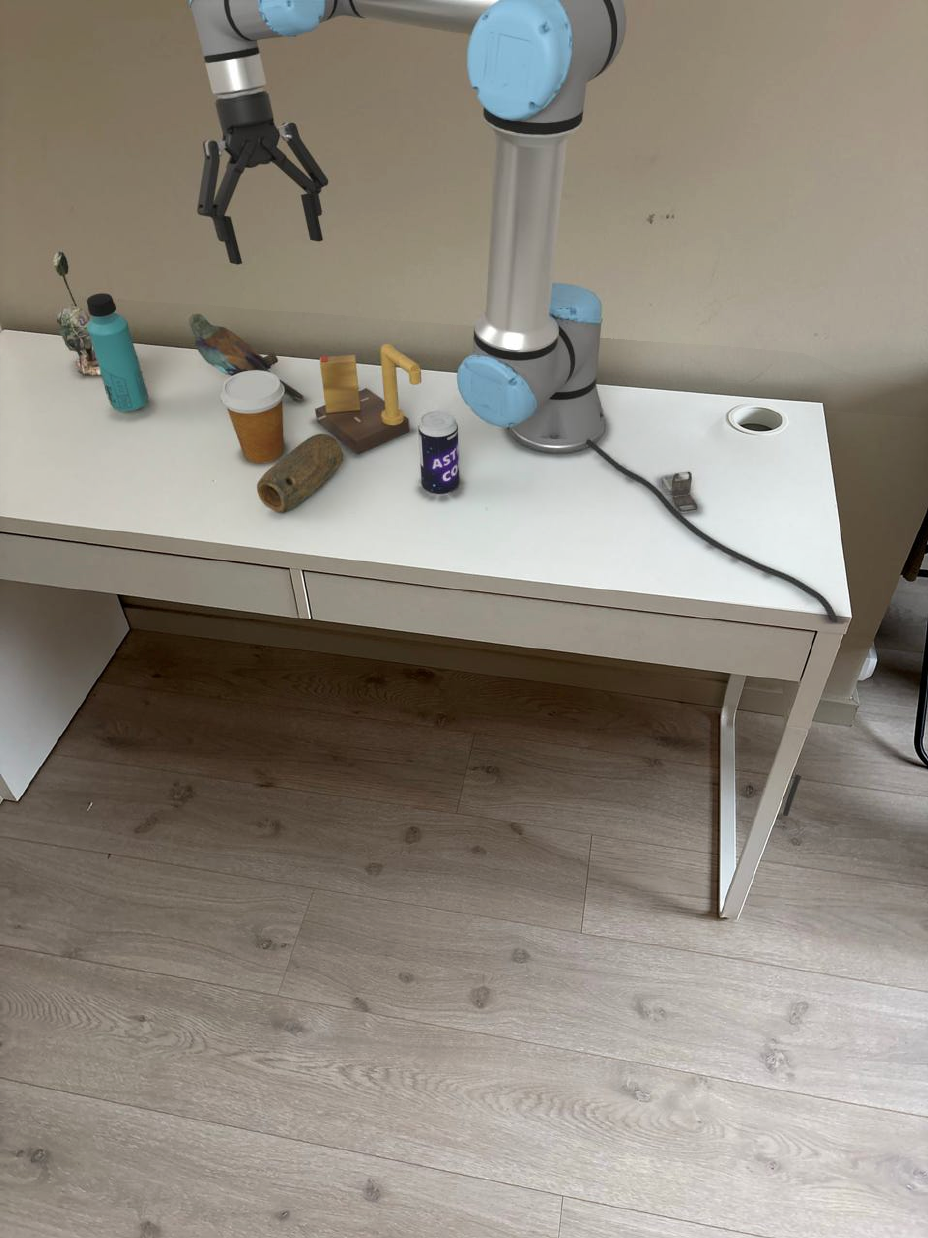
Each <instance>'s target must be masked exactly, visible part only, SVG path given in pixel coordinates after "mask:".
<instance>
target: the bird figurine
mask: <svg viewBox="0 0 928 1238" xmlns="http://www.w3.org/2000/svg"><path fill="white" fill-rule="evenodd" d="M188 325H189V326H190V329H191V332H192V334H193V335H194V345H195V349H196V350H197V351H198V353H199V354H200V355H201V357H202V358H203V359H204V361H206V363H207V364H209V365H210V366H212V367H213V368H215V369H216V370H218V371H219V372H222V373H223V374H225V375H229V376H230V377H231V376H233V375H235V374H238V373H241V372H245V371H251V370H261V371H267V372H270V373H272V372H271V371H270V369H272V366H274V365H275V364H277V363H278V362H279V359H278V356H277V355H276V354H275V353H274V352H270V353H269V354H267V355H266V356H264V357H263V356H261V354H260V353H259V352H257V351H256V350H255V349H254V348H253V346H251V345H250V344H248V343H247V342H246V341H245V340H243V339H242V338H241V337H239V336H238V335H237V334H235V332H233V331H232V330H230V329H228V328H227V327H225V326H219V325H213V324H211V323H210V322H209V321H208V320H207V319H206V317H204V315H203V314H201V313H193V314H191V316H189V319H188ZM279 380H280V382H281V383H282V384H283V386H284V389H285V391H284V395H287V396H289V398H290V399H292V400H293V401H295V402H298V403H299V402H301V401H302V400H303V399H304V397H305V396H304V395H303V394H302V393H300V392H299V391H298V390H297V389H295V388H294V387H291V386H290V385H289V384H287V383H286V382H285V381H284V380H282V379H280V378H279Z"/></svg>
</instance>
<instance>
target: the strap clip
mask: <svg viewBox="0 0 928 1238" xmlns="http://www.w3.org/2000/svg"><path fill="white" fill-rule="evenodd" d="M685 475H688V478H683V476H685ZM692 481H693V475H692V472H691V471H690V470H689V471H681V472H675V473H674V474H667V475H663V476H662V477H661V482H662V486H663V487H664V489H665V491H666V492H667V493H668V494H669V495H671V496H672V498H671V501H672V503H673V505H674V508H675V509H676V510H677V511H678V512H679V513H680V514H684V513H685V514H686V513H692V512H693V513H694V512H697V511H698V505H697V503H696V502H695V500H694V498H693V497H692V496H691V495H690V493H691V488H692ZM692 507H693V508H692ZM685 508H688V509H685Z"/></svg>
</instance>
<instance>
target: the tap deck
mask: <svg viewBox="0 0 928 1238" xmlns="http://www.w3.org/2000/svg"><path fill="white" fill-rule="evenodd" d="M359 398H360V408H361V410H356V411H344V412H333V413H326V406H325V404H323V405H321V406H319V407H316V408H315V417H316V422H317V424H319V425H320V426H322V428H324V429H325V430H326V431H328V433H330V434H331V435H332V436H334V437H335V438H337V439H338V441H340V442H341V443H342V444H344V445H345V446H346V447H347V448H348V449H350V450H351V451H352V452H354V453H355V454H356V455H360V454H363V453H365V452H368V451H369V450H372V449H375V448H376V447H378V446H380V445H383V444H385V443H388V442H391V441H392V440H394V439H397V438H399V437H401V436H404V435H406V434H408V433H410V420H409V418H408V417H407V416H405V415H404V420H403V422H402V423H400V424H397V425H387V424H385V423H383V422H382V418H381V413H382V412H383V411H384V410H385V401H384V399H382V398H381V397H380V396H378V395H377V394H376V393H374V392H373V391H372V390H371V389H369V388H367V387H365V388H362V389H359Z"/></svg>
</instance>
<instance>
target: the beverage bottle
mask: <svg viewBox="0 0 928 1238" xmlns="http://www.w3.org/2000/svg"><path fill="white" fill-rule="evenodd" d="M86 305H87V311H88V314H89V315H90V316H92V318H90V322H89V323H88V325H87V331H88V333H89V336H90V339H91V342H92V346H93V349H94V352H95V356H96V359H97V362H98V365H99V369H100V370H99V371H100V372H101V374H100V376H101V380H102V381H103V382H102V383H103V387H104V390H105V393H106V395H107V399H108V402H109V404H110V405H111V407H112V408H113V409H114V410H116V411H119V412H133V411H136V410H139V409H141V408H143V407H144V406H146V404H147V403H148V401H149V397H150V396H149V392H148V390H147V389H148V388H147V385H146V382H145V381H146V379H145V378H144V375H143V371H142V367H141V363H140V360H139V357H138V355H137V351H136V349H135V345H134V342H133V337H132V334H131V331H130V328H129V322H128V319H127V318H126V317H124V315H121V314H119V313H117V312H116V310H117V305H116V303H115V301H114V298H113V296H112V295H111V294H109V293H106V292H104V293H103V292H100V293H95V294H92V295H90V296H89V297H87V299H86Z"/></svg>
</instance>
